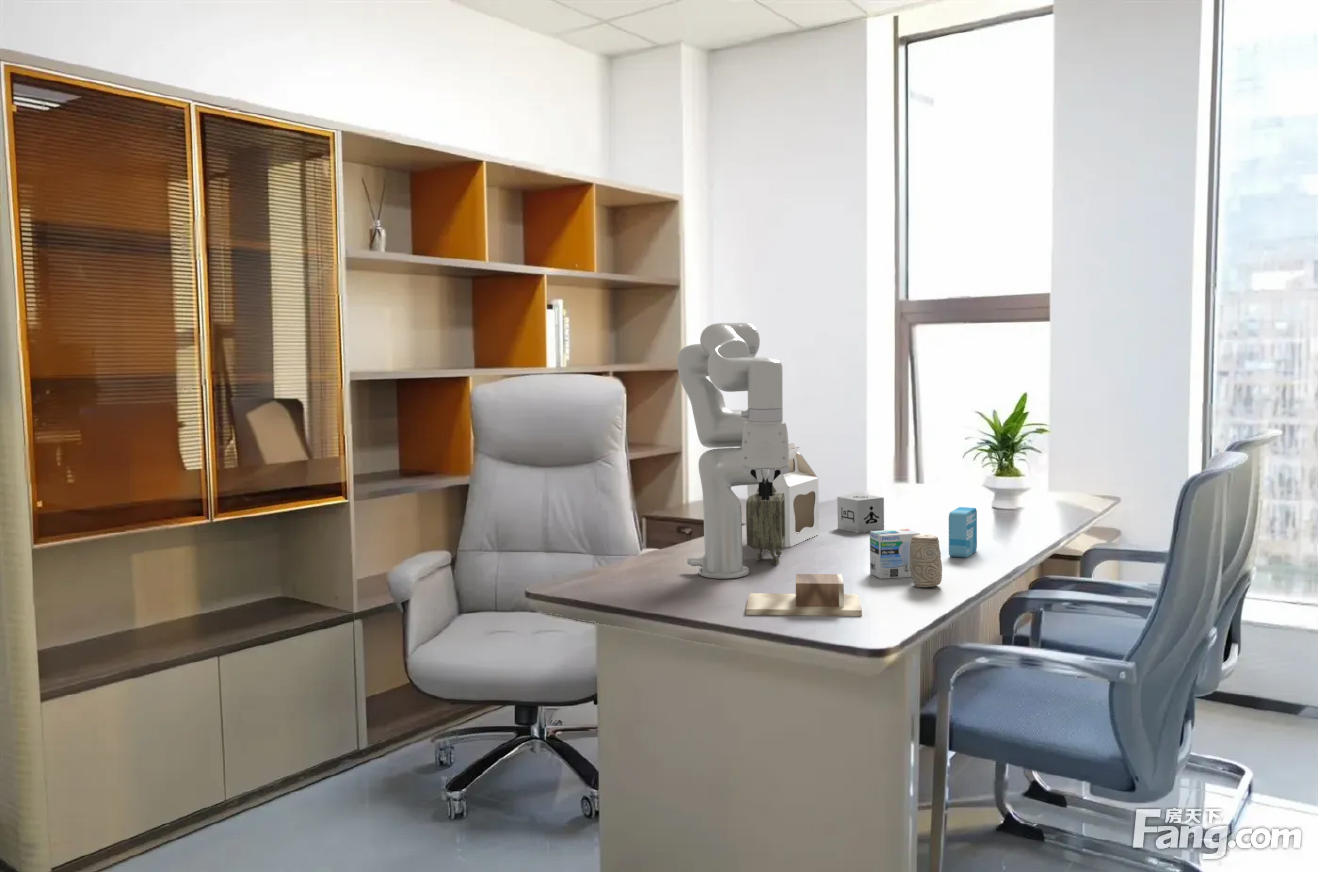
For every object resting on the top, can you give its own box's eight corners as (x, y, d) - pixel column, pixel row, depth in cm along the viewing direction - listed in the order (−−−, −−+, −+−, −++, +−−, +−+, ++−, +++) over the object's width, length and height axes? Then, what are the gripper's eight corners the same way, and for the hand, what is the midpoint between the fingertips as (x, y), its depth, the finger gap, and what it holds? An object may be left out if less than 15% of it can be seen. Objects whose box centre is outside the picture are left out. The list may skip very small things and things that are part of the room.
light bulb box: (880, 579, 238) (879, 535, 237) (868, 573, 245) (868, 530, 244) (921, 576, 240) (921, 532, 239) (909, 570, 247) (908, 528, 246)
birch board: (746, 614, 209) (746, 609, 209) (749, 598, 223) (749, 593, 223) (861, 616, 206) (861, 610, 205) (858, 599, 219) (858, 594, 219)
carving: (916, 582, 235) (916, 532, 234) (947, 586, 230) (946, 534, 229) (904, 587, 230) (904, 536, 229) (935, 591, 225) (935, 539, 224)
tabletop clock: (781, 566, 256) (779, 470, 254) (746, 565, 258) (744, 470, 256) (785, 555, 270) (784, 464, 268) (752, 554, 272) (750, 464, 270)
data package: (965, 559, 259) (965, 513, 258) (948, 557, 261) (948, 512, 260) (977, 550, 269) (977, 507, 268) (960, 549, 271) (960, 506, 270)
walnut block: (795, 583, 210) (843, 583, 208) (796, 574, 219) (842, 574, 217) (796, 606, 210) (843, 607, 209) (796, 596, 219) (842, 596, 217)
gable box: (789, 548, 280) (788, 449, 278) (747, 544, 287) (745, 448, 285) (819, 534, 299) (818, 442, 297) (779, 531, 306) (777, 441, 304)
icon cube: (837, 528, 309) (837, 496, 308) (863, 525, 313) (862, 494, 312) (858, 533, 300) (857, 500, 299) (884, 529, 304) (883, 497, 304)
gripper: (729, 418, 213) (730, 502, 215) (799, 418, 210) (799, 503, 213) (732, 414, 220) (733, 496, 222) (800, 414, 218) (800, 496, 220)
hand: (765, 499), depth 217 cm, fingers closed
